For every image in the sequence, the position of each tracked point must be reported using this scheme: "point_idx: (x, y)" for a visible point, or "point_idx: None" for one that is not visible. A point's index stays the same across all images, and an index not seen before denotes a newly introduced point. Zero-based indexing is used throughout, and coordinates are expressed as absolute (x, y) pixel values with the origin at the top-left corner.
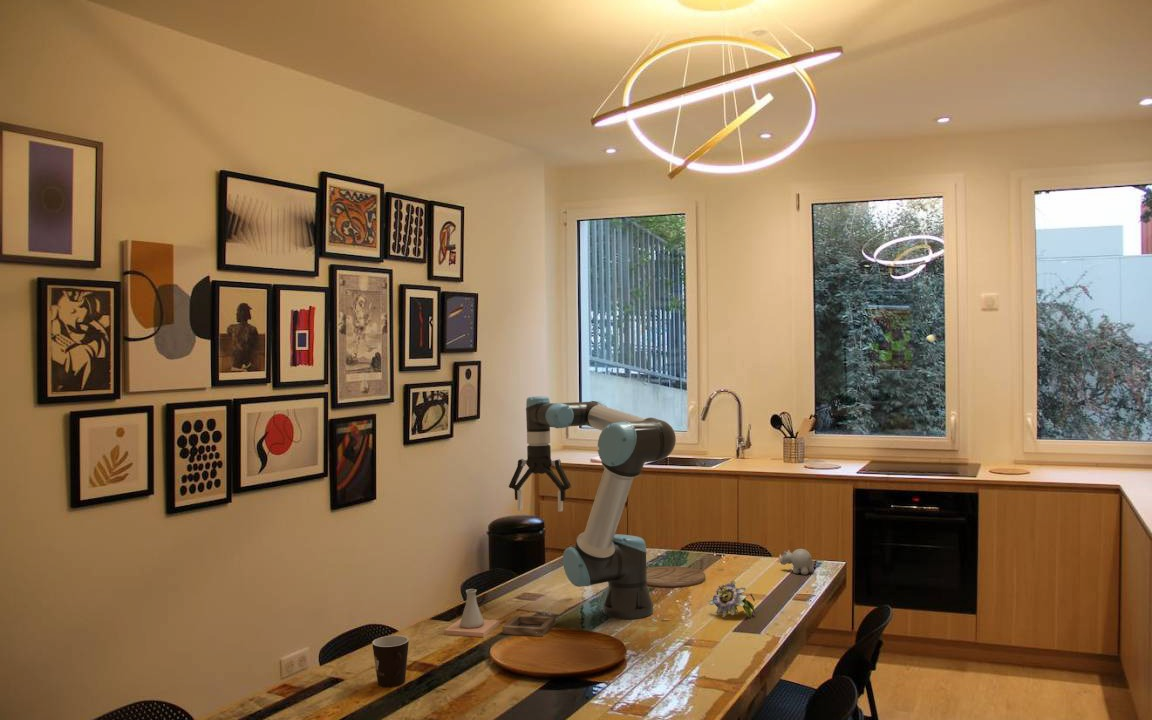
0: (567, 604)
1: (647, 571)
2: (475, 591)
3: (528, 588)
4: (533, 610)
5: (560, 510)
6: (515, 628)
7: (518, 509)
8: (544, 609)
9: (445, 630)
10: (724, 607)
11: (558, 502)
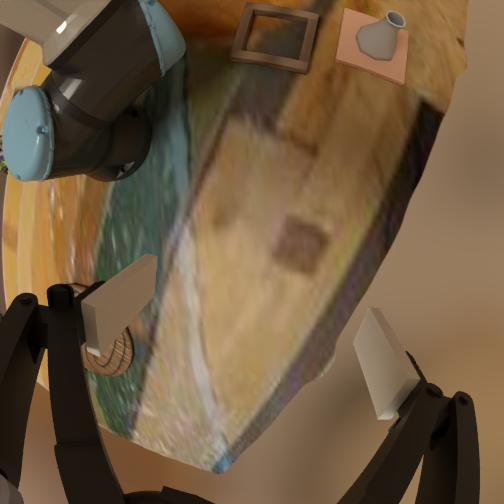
0: (218, 184)
1: (115, 356)
2: (386, 12)
3: (305, 303)
4: (283, 142)
5: (143, 256)
6: (294, 9)
7: (378, 311)
8: (261, 149)
9: (406, 31)
10: None
11: (131, 273)
